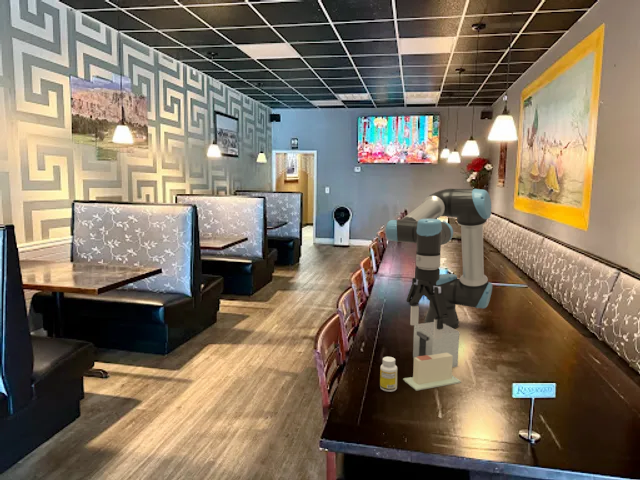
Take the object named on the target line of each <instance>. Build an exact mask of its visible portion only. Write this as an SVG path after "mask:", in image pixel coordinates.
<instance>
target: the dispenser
mask: <svg viewBox="0 0 640 480" xmlns="http://www.w3.org/2000/svg"><path fill="white" fill-rule="evenodd" d="M433 334H434V322H430V323H425V322H424V323H418V325H413V345H412V346H413V347H412V348H413V349H412V350H413V351H412V358H413V359H414V357H418V356H424V355H434V354H441V353H449V354H451V355H452V356H453V362H452V368H456V367H458V363H459V347H460V346H459V344H460V331H459V330H457V329H456V328H454V329H453V328H451V327H449V326H447V325H445V324H444V323H443V329H442V338H440V339H433Z"/></svg>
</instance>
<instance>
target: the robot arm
mask: <svg viewBox="0 0 640 480" xmlns="http://www.w3.org/2000/svg"><path fill="white" fill-rule="evenodd" d="M491 215H492V200H491V195H490V193H489V192H488V190H486V189H480V188H446V189H445V188H444V189H441V190H438V191H435V192H433V193H431V194H429V195H428V196H426V197H424V199H423V201H422V202H421V204H420V205H419V206H417V207H416V208H415V209H413V210H412V211H410V212H409V213H407V214H406V215H405V216H404V217H403V218H401V219H391V220H388V221H387V223H386V226H385V236H386V238H387V240H389V241H392V242H397V243H398V242H399V243H409V244H410V243H411V244H416V245H415V246H416V251H415V253H416V256H415V257H416V258H415V266H416V268H415V276H414V277H413V278H412V280H411V287H410V288H409V291H408V294H407V297H406V302H407V303H408V304H409V306H410V310H409V312H410V316H409V317H410V320H409V321H410V322H409V323H410V324H409V325H410V326H414V325H418V324H419V315H420V313H419V312H420V309H419V308H420V306H419V305H420V303H419V302H420V301H421V300H422V298H423V296H424V297H426V299H427V300H429V302H428V303H429V306H428V310H427V311H426V315H425V317H424V323H430V322H434V334H433V339H440V338H442V329H443V323H444V324H445V325H447V326H449V327H451V328H453V329H457V328H458V327H459V325H460V324H459V323H460V322H459V321H460V320H459V317H458V313H457V310H456V305H457V306H463V307H469V308H470V307H471V308H475V309H486V308H487V307H488V306H489V303H490V300H491V297H492V296H491V295H492V293H493V283H492V282H490V281H488V279H489V278H488V277H487V275H486V274H485V269H484V268H485V267H484V266H485V265H484V264H485V263H484V262H485V261H484V225H485V224H486V223H487V222H488V220H489V219H490V218H491ZM441 217H450V218H456V224H457V225H459V226H460V231H461V232H460V238H461V257H462V258H461V260H462V275H460V277H459V278H458V276H457V274H455V273H444V274H443V273H441V274H440V271H441V269H440V267H441V250H442V245H445V244H448V243H449V242H450V241H451V240H452V238H453V236H454V228H453V226H451V224H450V223H448V222H446V221H441V219H438V218H441Z"/></svg>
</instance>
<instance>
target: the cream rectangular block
mask: <svg viewBox="0 0 640 480" xmlns="http://www.w3.org/2000/svg"><path fill="white" fill-rule="evenodd" d="M452 362H453V356H452V355H451V354H449V353H441V354H434V355H424V356H418V357H414V358H413V367H412V368H413V370H412V372H413V373H412V377H413V381H414V382H415V383H416V384H418V385H419V384H425V383H430V382H436V381H442V380H448V379H452V375H453V367H452Z"/></svg>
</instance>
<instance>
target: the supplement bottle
mask: <svg viewBox="0 0 640 480" xmlns="http://www.w3.org/2000/svg"><path fill="white" fill-rule="evenodd" d="M379 371H380V372H379V373H380V374H379V387H380V390H382V391H384V392H391V393H392V392H395V391H396V390H397V389H398V366H397V365H396V358H394V356H393V357H392V356H384V357H382V364H381V365H380V370H379Z"/></svg>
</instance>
